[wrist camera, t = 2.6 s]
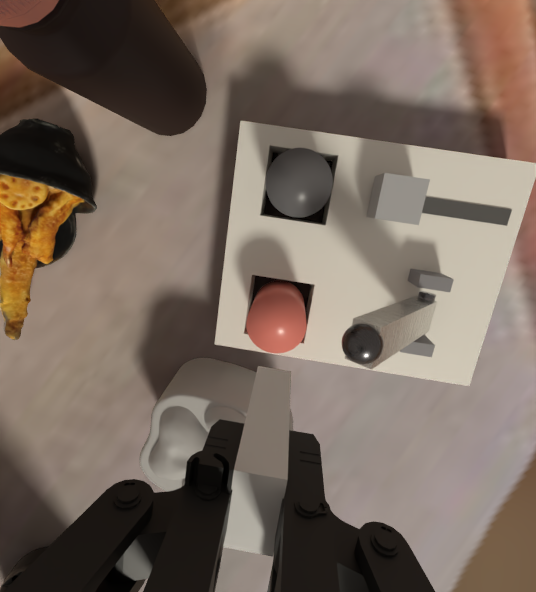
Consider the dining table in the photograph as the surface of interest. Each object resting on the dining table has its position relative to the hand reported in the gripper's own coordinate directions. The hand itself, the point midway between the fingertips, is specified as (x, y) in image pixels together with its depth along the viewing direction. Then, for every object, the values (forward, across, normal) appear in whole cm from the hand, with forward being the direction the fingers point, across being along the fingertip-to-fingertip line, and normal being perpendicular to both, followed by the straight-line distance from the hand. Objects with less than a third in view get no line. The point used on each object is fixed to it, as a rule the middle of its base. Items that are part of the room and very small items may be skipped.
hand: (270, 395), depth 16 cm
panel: (+18, -6, -5) cm, 20 cm away
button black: (+16, 0, -10) cm, 19 cm away
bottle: (+19, +12, -16) cm, 27 cm away
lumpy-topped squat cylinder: (+19, +3, +13) cm, 23 cm away
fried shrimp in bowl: (+19, +22, -3) cm, 29 cm away
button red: (+16, 0, 0) cm, 16 cm away
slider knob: (+14, -7, -10) cm, 18 cm away
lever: (+13, -11, -2) cm, 17 cm away
